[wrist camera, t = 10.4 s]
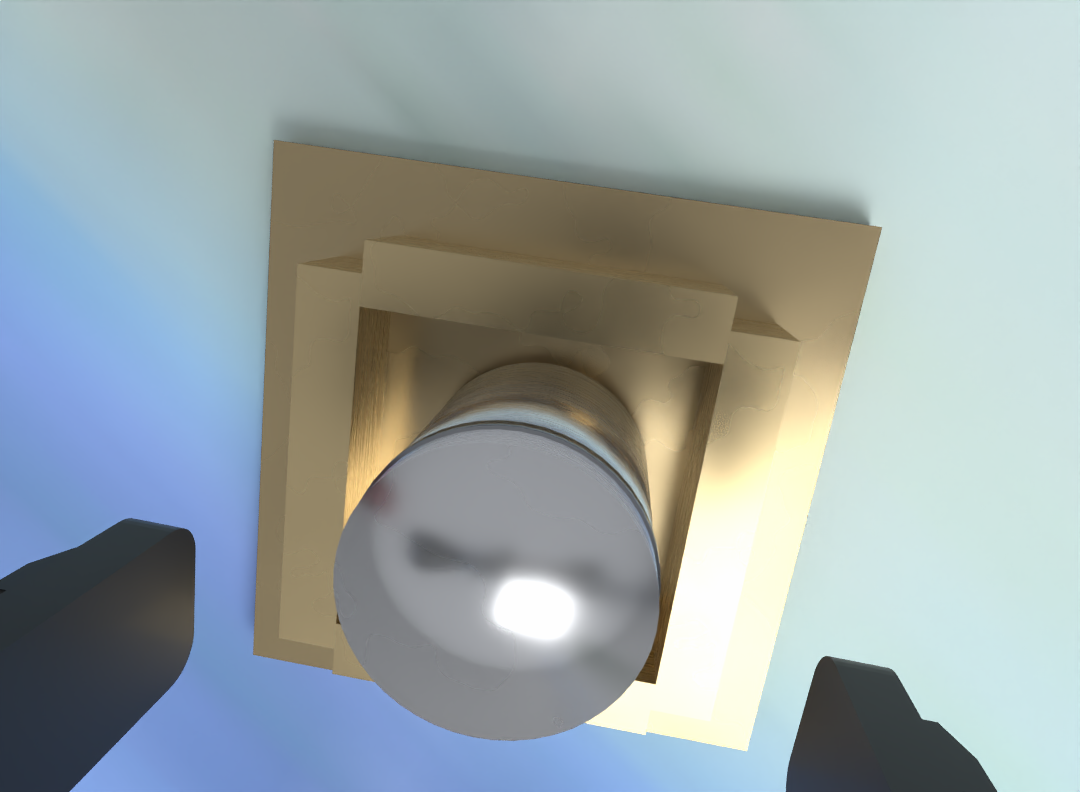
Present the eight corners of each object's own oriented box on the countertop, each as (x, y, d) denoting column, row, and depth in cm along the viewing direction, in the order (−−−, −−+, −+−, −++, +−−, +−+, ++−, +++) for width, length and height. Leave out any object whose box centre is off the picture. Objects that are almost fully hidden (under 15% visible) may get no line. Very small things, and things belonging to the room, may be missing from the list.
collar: (871, 226, 14) (923, 230, 12) (742, 732, 18) (762, 820, 15) (286, 142, 15) (220, 130, 13) (265, 640, 18) (208, 708, 16)
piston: (669, 380, 15) (694, 473, 10) (627, 591, 16) (630, 772, 11) (437, 342, 15) (342, 412, 10) (414, 551, 17) (319, 708, 11)
